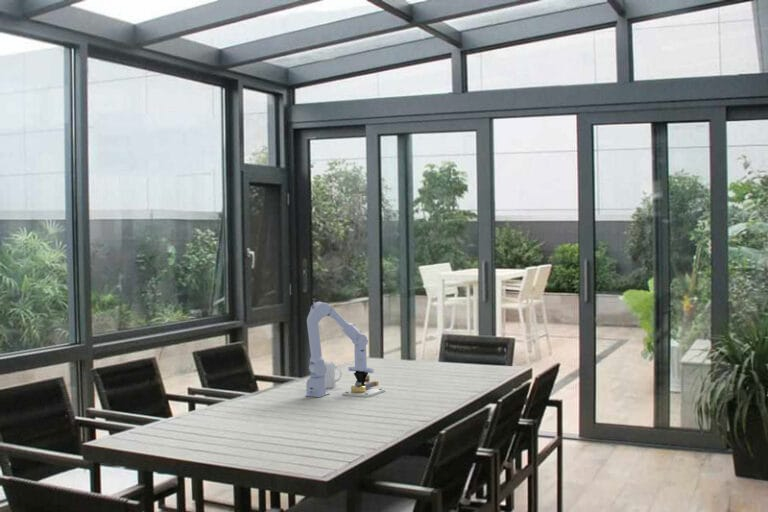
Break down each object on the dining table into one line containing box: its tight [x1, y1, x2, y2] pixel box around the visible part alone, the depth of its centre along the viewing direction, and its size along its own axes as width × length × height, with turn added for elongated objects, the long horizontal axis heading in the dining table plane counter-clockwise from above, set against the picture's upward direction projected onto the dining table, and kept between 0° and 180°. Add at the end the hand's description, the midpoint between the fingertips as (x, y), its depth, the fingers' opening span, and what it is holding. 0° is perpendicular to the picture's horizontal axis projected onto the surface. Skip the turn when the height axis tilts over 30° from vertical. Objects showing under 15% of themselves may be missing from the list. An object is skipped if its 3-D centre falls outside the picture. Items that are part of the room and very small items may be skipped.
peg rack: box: [355, 374, 373, 384], centre depth 441 cm, size 10×5×5 cm, turn 150°
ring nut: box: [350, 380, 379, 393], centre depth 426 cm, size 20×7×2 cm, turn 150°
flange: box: [342, 382, 386, 398], centre depth 422 cm, size 16×14×5 cm
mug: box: [324, 361, 343, 389], centre depth 442 cm, size 12×8×12 cm
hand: (361, 386), depth 429 cm, fingers closed
